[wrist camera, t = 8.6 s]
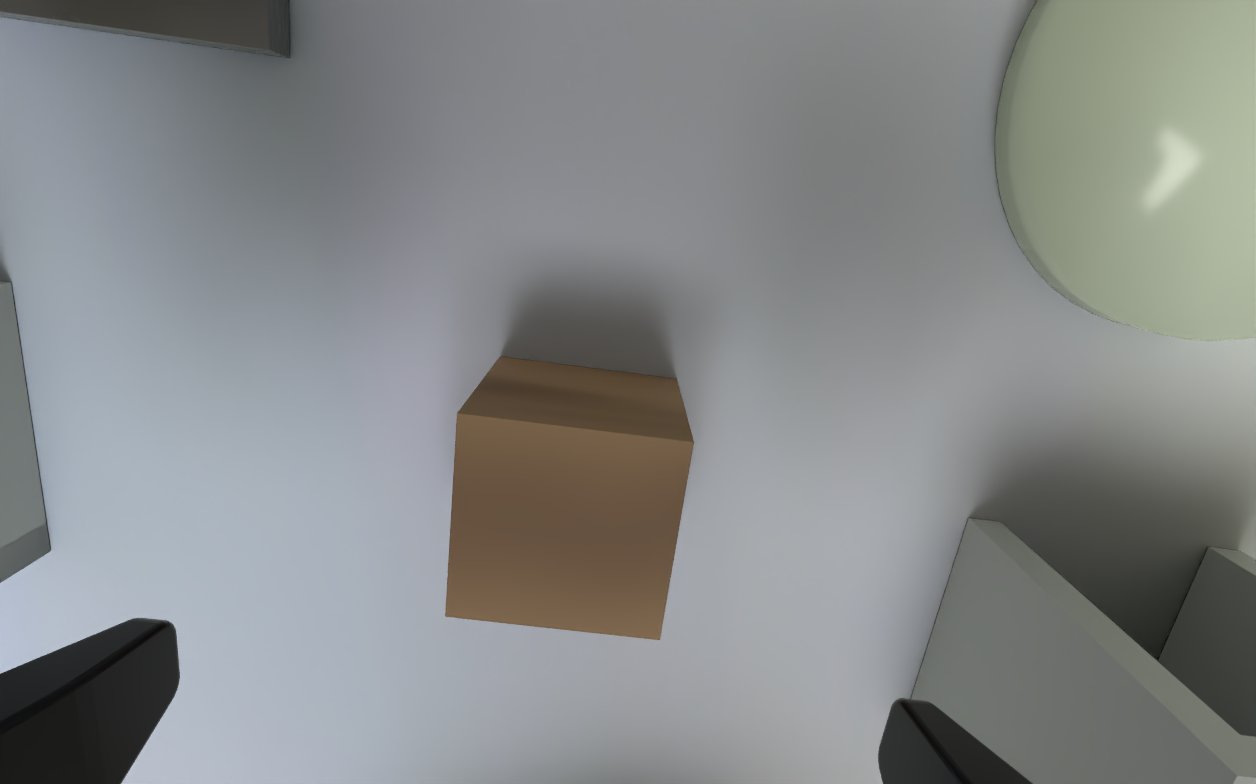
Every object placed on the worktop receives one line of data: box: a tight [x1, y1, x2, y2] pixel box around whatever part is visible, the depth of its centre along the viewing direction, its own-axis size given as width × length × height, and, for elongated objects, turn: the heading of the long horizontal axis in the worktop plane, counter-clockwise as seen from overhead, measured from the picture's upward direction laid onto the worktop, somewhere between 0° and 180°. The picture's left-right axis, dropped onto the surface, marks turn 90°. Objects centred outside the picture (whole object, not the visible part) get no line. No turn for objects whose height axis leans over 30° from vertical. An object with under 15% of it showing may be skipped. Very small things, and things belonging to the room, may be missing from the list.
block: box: [445, 357, 694, 640], centre depth 14 cm, size 4×4×4 cm
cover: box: [911, 518, 1256, 784], centre depth 14 cm, size 7×7×7 cm
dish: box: [995, 0, 1256, 341], centre depth 13 cm, size 9×9×1 cm
